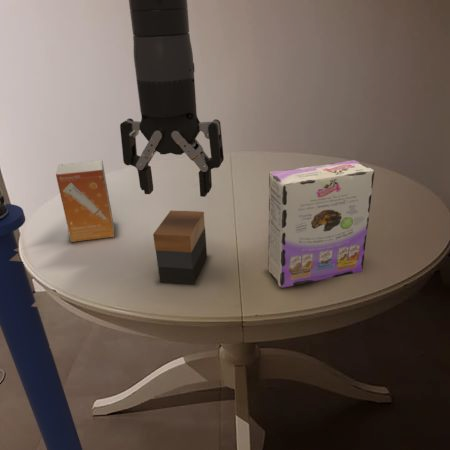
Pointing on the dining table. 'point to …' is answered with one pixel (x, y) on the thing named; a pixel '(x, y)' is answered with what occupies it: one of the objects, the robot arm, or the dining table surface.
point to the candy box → (318, 221)
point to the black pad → (183, 272)
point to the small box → (85, 200)
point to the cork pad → (179, 231)
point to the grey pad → (181, 256)
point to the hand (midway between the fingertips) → (176, 193)
